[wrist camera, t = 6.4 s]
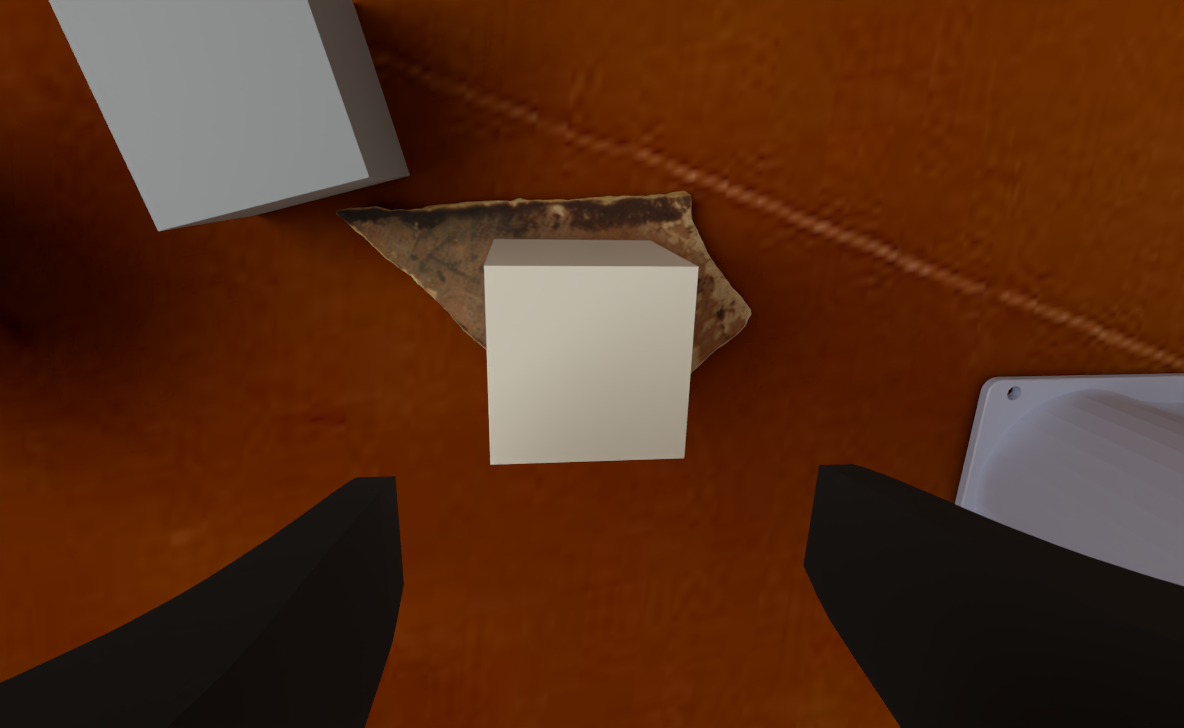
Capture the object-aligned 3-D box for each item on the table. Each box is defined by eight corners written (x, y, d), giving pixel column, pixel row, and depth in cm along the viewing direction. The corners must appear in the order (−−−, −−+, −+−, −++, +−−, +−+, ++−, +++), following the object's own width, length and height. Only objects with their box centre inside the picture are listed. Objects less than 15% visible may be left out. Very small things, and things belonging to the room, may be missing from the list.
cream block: (650, 240, 18) (698, 266, 13) (642, 385, 19) (683, 458, 14) (493, 239, 17) (483, 265, 12) (498, 388, 18) (490, 464, 14)
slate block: (353, 3, 16) (283, -68, 11) (410, 175, 17) (369, 176, 13) (186, 44, 16) (44, -10, 11) (257, 214, 17) (158, 231, 13)
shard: (348, 209, 18) (330, 213, 16) (529, 16, 17) (530, -1, 15) (595, 437, 21) (601, 461, 20) (759, 287, 20) (781, 297, 19)
